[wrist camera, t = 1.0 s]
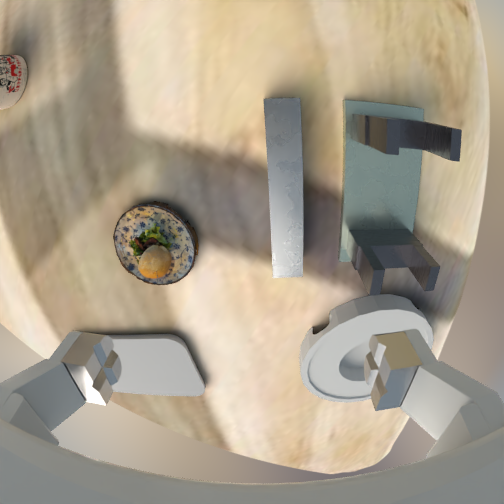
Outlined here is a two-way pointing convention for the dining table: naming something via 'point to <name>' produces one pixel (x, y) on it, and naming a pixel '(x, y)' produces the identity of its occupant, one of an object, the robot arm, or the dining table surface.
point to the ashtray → (354, 344)
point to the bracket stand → (387, 188)
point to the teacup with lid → (11, 79)
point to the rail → (285, 184)
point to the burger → (155, 243)
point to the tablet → (156, 366)
